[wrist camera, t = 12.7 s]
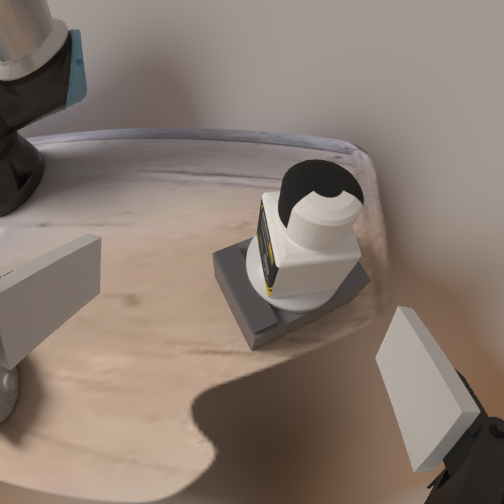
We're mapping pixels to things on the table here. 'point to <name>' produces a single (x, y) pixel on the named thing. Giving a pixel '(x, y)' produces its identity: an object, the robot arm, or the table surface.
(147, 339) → the table surface
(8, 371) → the dish
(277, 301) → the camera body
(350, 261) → the medicine bottle
